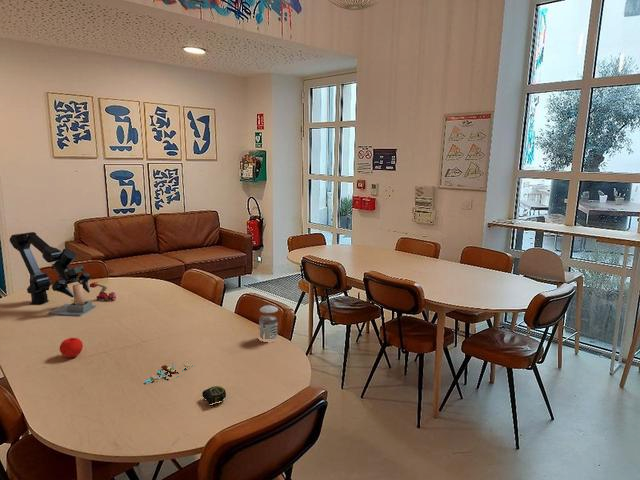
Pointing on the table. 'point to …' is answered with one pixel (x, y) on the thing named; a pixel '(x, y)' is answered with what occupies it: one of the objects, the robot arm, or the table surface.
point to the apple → (71, 347)
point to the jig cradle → (73, 309)
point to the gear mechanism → (166, 368)
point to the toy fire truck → (103, 293)
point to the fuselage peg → (78, 295)
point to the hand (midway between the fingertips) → (81, 294)
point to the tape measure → (214, 394)
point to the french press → (268, 321)
